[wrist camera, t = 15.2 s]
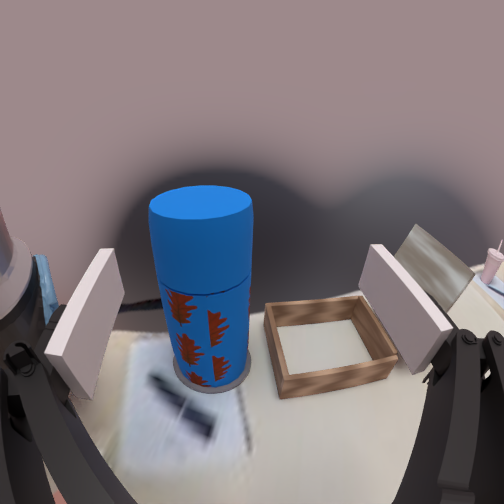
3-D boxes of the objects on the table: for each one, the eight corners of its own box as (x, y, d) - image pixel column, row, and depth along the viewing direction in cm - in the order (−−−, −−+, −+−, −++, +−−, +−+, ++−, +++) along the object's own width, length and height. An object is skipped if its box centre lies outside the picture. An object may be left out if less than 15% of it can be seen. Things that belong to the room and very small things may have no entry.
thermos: (204, 326, 46) (194, 180, 34) (259, 351, 42) (271, 194, 29) (163, 366, 38) (126, 207, 25) (222, 400, 33) (210, 230, 21)
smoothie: (495, 284, 58) (512, 244, 51) (488, 288, 56) (506, 246, 49) (482, 273, 63) (497, 234, 56) (474, 277, 61) (490, 235, 55)
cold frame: (279, 399, 34) (302, 290, 25) (263, 324, 48) (271, 221, 38) (424, 366, 37) (476, 272, 28) (388, 310, 51) (417, 223, 41)
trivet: (171, 393, 34) (170, 391, 34) (176, 334, 44) (176, 332, 44) (255, 391, 35) (255, 389, 35) (246, 332, 46) (246, 330, 46)
